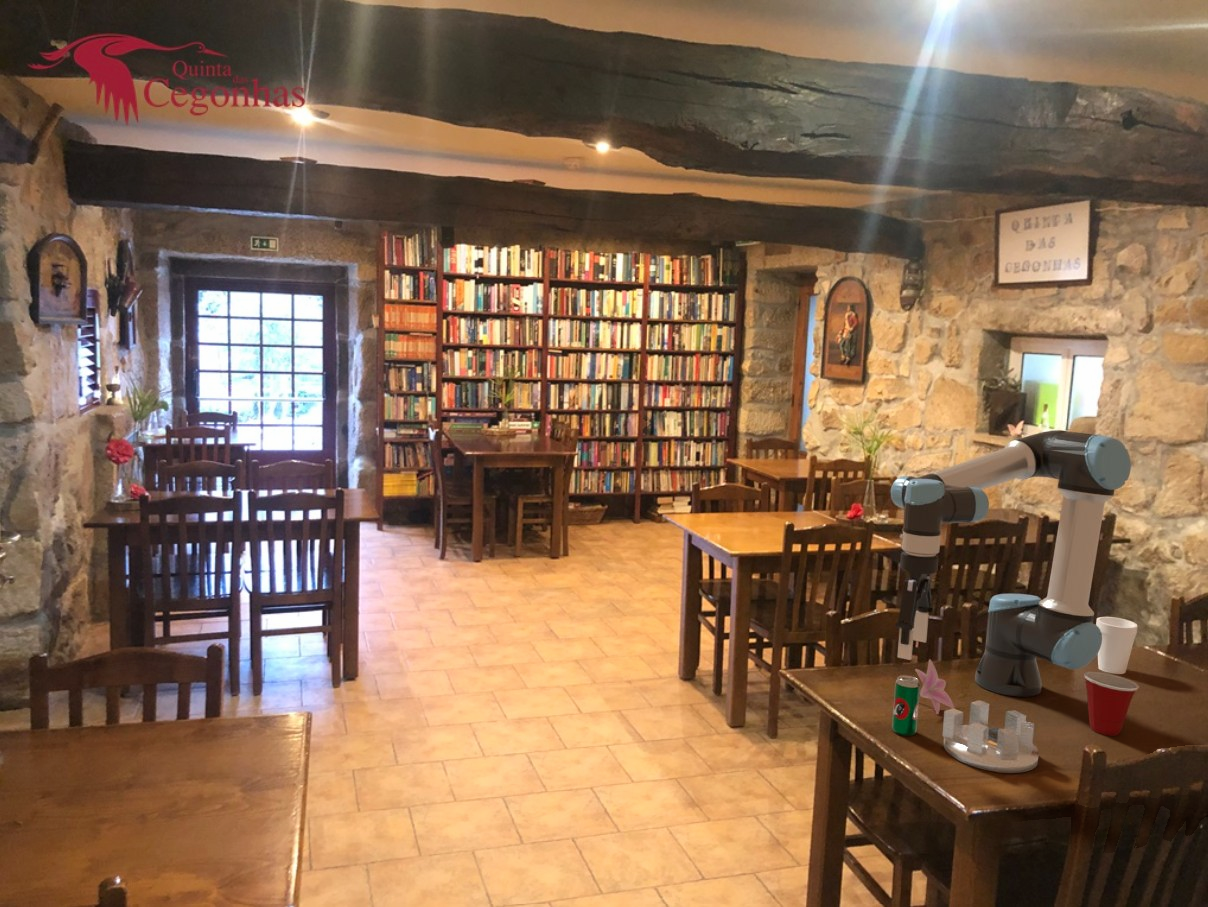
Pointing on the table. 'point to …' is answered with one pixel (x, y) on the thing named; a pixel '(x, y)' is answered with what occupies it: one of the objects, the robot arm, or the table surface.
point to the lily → (934, 687)
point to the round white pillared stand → (990, 740)
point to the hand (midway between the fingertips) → (912, 649)
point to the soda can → (906, 705)
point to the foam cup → (1115, 643)
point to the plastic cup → (1108, 701)
